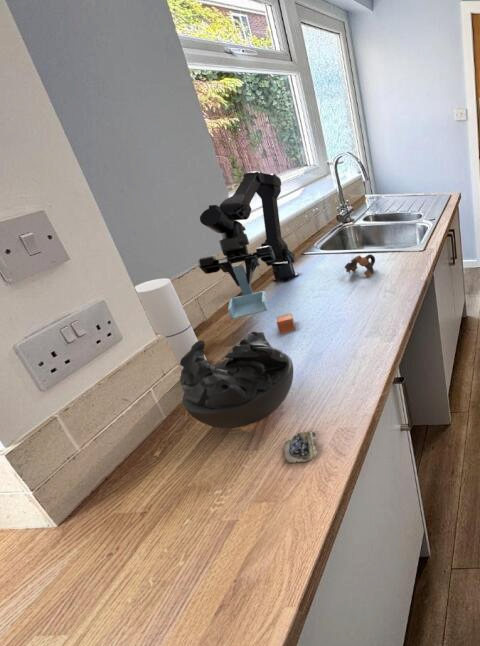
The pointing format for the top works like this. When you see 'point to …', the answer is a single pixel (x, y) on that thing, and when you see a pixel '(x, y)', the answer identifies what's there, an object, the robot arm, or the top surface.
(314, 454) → the geode slice
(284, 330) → the block
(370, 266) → the toy animal figurine
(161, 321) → the cylindrical container
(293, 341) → the top surface
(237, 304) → the pale blue channel tray
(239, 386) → the bowl of black rocks
